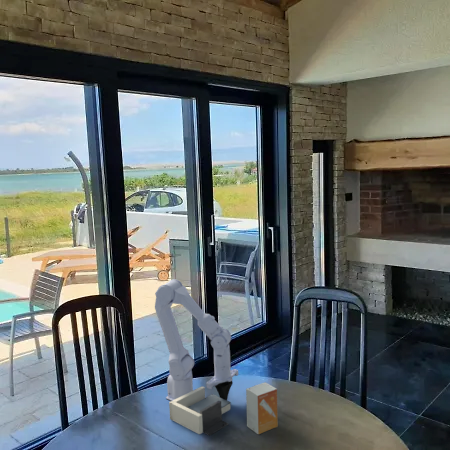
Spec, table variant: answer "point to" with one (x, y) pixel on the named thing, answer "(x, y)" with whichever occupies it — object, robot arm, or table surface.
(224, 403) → the book
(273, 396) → the small box
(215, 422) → the bookend
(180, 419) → the cream corner tray
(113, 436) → the table surface
